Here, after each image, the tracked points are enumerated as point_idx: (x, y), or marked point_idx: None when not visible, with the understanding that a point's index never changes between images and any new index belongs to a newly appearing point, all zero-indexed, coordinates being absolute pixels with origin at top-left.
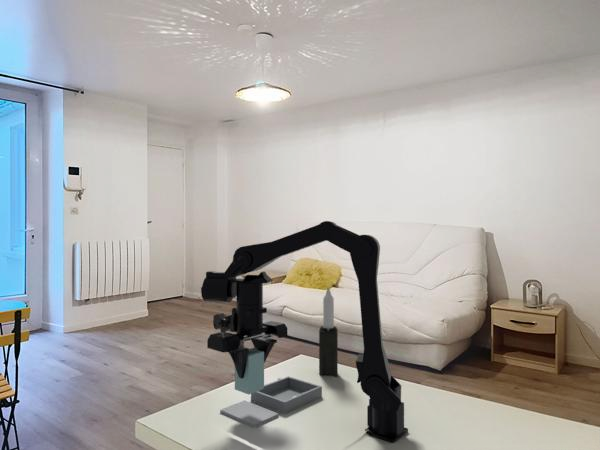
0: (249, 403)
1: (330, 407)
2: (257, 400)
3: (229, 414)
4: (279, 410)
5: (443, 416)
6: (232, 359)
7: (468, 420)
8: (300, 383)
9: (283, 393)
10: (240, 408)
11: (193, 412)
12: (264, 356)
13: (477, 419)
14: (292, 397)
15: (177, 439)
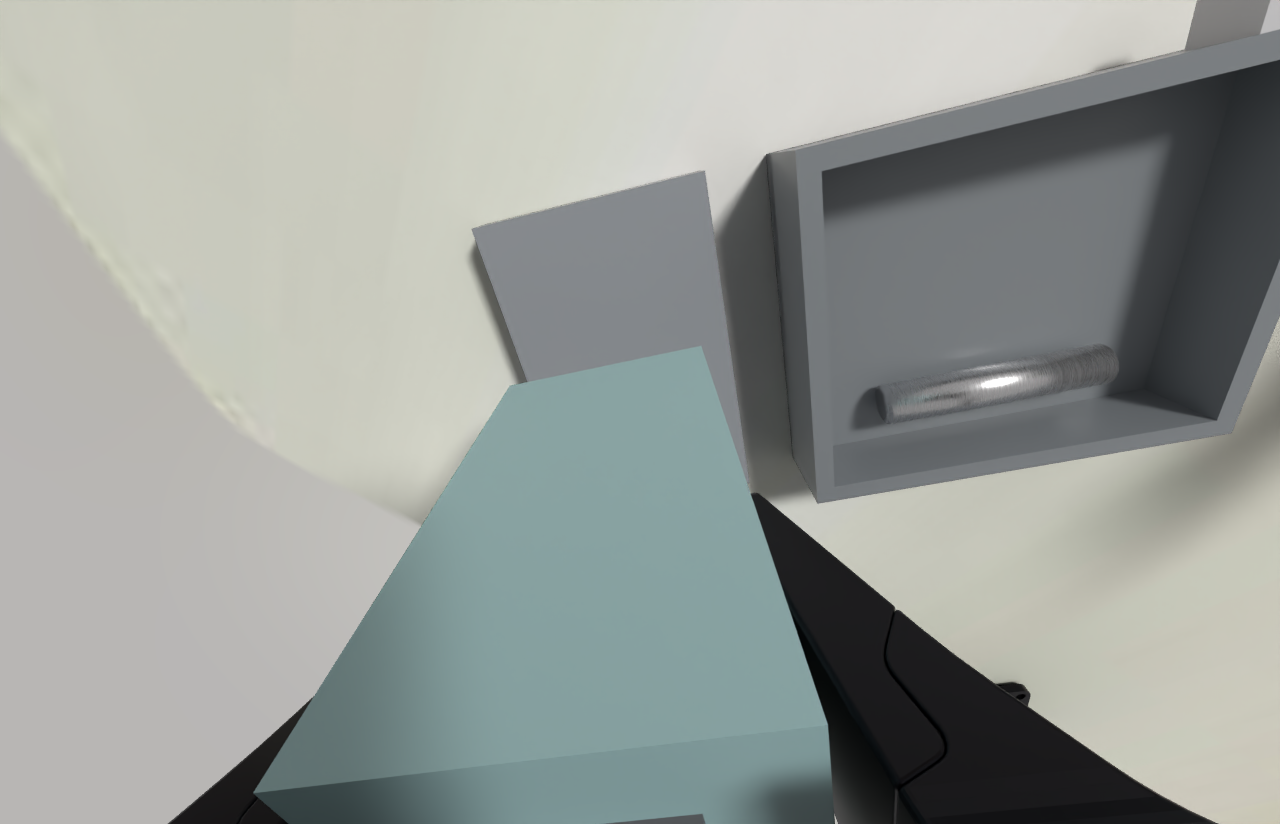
0: (701, 255)
1: (1047, 498)
2: (782, 238)
3: (509, 327)
4: (795, 433)
5: (1207, 740)
6: (253, 756)
7: (1211, 778)
8: (1263, 227)
9: (1059, 186)
10: (604, 298)
11: (303, 31)
12: (838, 812)
13: (1234, 785)
14: (961, 399)
15: (198, 373)
